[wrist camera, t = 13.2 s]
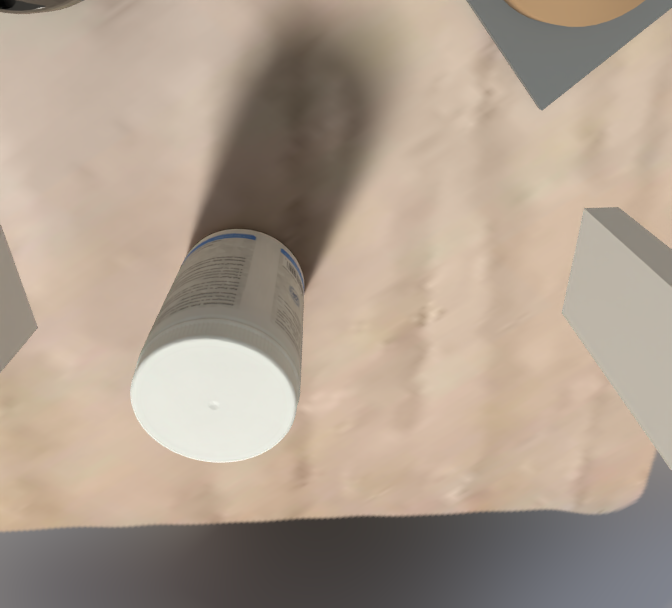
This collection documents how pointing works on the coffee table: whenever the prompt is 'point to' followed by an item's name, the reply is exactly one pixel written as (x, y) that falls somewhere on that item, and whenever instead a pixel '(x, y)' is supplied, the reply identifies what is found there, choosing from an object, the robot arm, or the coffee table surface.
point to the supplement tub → (225, 350)
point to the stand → (562, 37)
